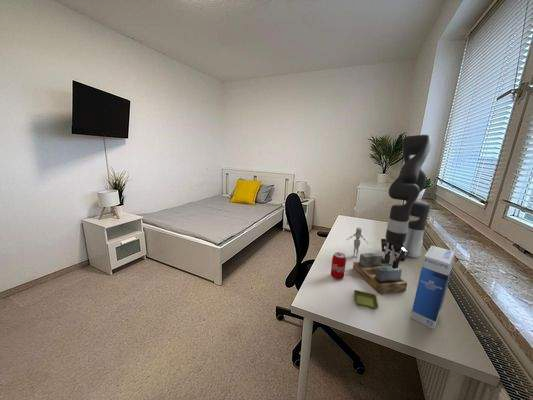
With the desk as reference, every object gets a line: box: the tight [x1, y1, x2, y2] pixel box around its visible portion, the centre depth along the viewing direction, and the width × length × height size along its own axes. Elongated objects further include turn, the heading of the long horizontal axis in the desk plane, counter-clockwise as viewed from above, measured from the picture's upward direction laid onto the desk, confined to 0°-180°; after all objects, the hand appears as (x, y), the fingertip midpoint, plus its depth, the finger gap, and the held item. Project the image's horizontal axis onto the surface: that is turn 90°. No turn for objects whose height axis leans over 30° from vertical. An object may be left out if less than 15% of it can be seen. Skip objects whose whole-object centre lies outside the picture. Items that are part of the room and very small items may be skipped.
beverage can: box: [330, 252, 347, 281], centre depth 103 cm, size 6×6×12 cm
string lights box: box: [410, 245, 456, 330], centre depth 78 cm, size 13×8×26 cm, turn 133°
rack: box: [352, 252, 408, 294], centre depth 102 cm, size 14×20×10 cm
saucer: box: [353, 289, 379, 310], centre depth 87 cm, size 9×9×2 cm
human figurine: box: [346, 227, 369, 259], centre depth 123 cm, size 12×4×18 cm, turn 66°
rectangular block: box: [375, 266, 403, 284], centre depth 96 cm, size 10×3×8 cm, turn 100°
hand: (390, 265), depth 95 cm, fingers open, 4 cm apart
